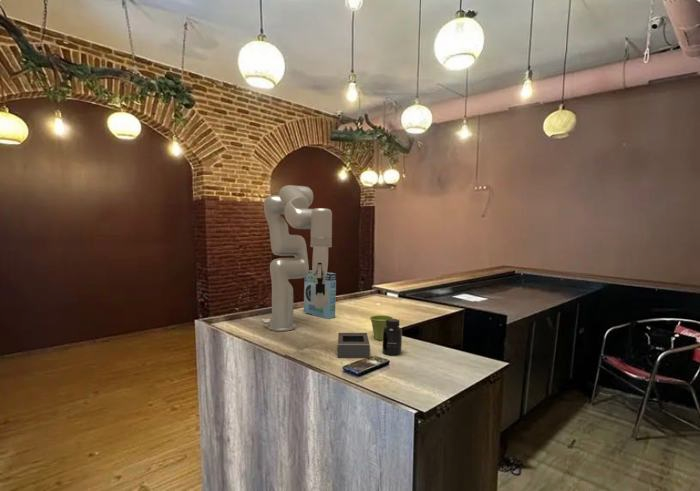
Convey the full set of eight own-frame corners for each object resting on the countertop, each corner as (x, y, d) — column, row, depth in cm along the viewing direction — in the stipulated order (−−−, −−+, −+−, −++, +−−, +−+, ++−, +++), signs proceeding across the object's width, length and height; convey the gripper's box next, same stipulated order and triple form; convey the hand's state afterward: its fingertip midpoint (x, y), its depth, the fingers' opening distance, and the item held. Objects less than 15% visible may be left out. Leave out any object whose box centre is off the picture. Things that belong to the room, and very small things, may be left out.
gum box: (303, 313, 196) (303, 270, 195) (310, 312, 200) (310, 270, 199) (329, 319, 183) (329, 273, 182) (336, 317, 187) (336, 273, 186)
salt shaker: (331, 306, 133) (331, 270, 132) (324, 309, 127) (324, 271, 127) (316, 304, 135) (316, 269, 134) (309, 307, 129) (309, 271, 129)
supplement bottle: (389, 357, 127) (389, 323, 127) (378, 351, 133) (379, 318, 133) (405, 354, 130) (405, 321, 130) (394, 349, 136) (394, 317, 136)
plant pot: (373, 342, 144) (373, 320, 144) (367, 336, 153) (367, 315, 153) (395, 341, 146) (396, 319, 146) (388, 335, 155) (388, 314, 155)
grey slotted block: (337, 357, 126) (337, 344, 126) (338, 344, 141) (338, 332, 141) (369, 357, 126) (369, 344, 126) (366, 344, 141) (366, 332, 141)
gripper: (313, 242, 139) (312, 290, 139) (307, 243, 122) (307, 298, 123) (332, 242, 139) (332, 290, 139) (330, 243, 122) (329, 298, 123)
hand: (320, 293), depth 131 cm, fingers closed on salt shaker, 3 cm apart
